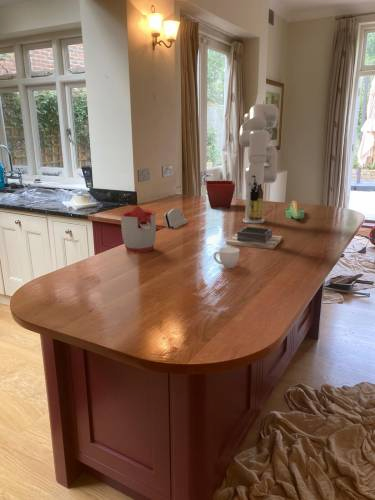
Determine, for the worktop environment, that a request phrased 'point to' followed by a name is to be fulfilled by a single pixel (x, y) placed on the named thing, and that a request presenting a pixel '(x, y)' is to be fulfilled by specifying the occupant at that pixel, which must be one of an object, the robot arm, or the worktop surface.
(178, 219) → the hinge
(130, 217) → the citrus juicer
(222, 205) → the plant pot
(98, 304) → the worktop surface
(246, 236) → the bottle dock
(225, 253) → the cup
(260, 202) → the sauce bottle
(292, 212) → the toy spaceship
